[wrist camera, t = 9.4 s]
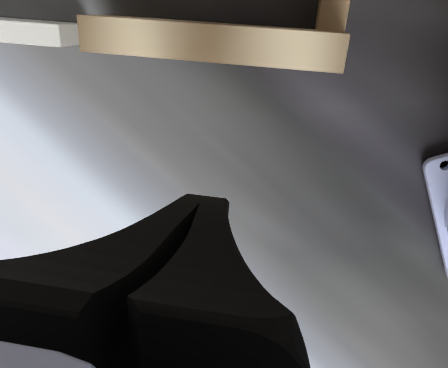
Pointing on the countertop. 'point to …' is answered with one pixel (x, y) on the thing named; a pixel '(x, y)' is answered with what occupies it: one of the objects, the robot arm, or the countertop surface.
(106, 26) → the bay
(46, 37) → the dock
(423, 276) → the countertop surface
